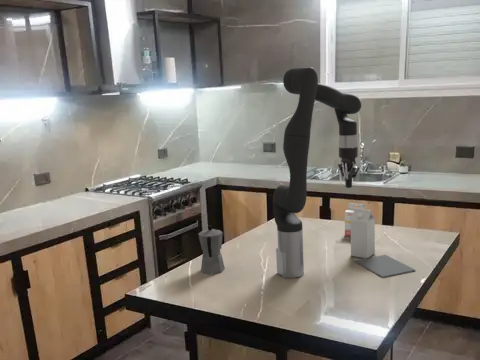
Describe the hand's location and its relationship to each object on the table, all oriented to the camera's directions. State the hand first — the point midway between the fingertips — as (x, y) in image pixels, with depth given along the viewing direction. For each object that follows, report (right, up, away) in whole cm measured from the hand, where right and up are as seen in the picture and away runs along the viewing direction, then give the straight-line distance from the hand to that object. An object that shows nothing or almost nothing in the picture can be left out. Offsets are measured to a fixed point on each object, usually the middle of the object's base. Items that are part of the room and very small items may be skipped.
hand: (348, 187), depth 194 cm
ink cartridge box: (+8, -23, +20) cm, 31 cm away
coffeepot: (-56, -32, -12) cm, 66 cm away
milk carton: (+5, -27, -4) cm, 28 cm away
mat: (+9, -29, -18) cm, 35 cm away
